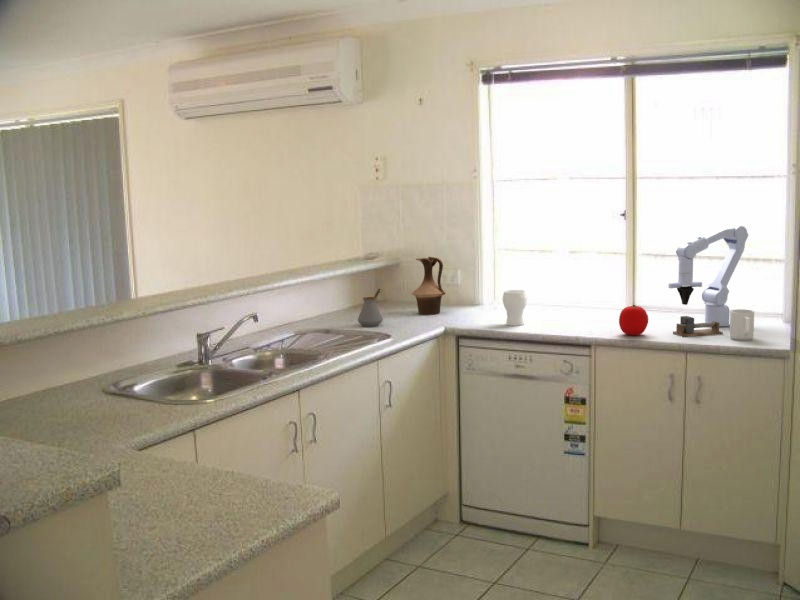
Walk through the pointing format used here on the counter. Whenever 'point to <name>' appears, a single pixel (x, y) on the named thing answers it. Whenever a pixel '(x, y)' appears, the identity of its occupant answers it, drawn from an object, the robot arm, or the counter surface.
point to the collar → (688, 324)
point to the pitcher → (429, 288)
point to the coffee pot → (370, 312)
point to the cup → (514, 306)
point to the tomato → (633, 320)
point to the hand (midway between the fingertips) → (684, 304)
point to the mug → (741, 324)
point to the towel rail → (701, 332)
